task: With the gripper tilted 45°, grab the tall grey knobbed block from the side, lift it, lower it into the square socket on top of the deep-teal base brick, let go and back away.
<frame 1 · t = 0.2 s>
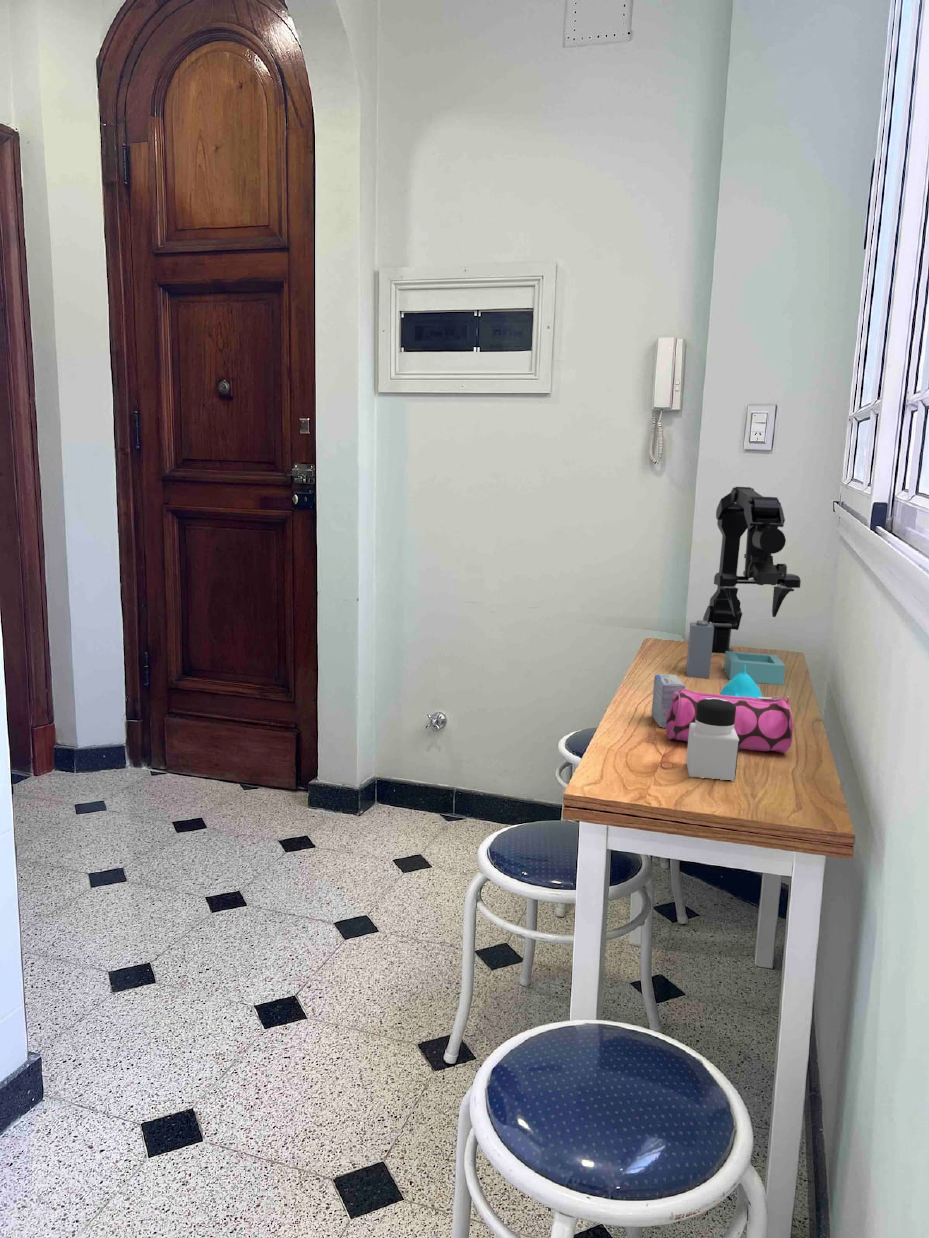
hand: (754, 616, 209), 14 cm above the table, tool pointing down, fingers open, 9 cm apart
medicine box: (665, 723, 170), on the table
grey knobbed block: (697, 675, 209), on the table
pencil case: (725, 746, 158), on the table
medicine bottle: (709, 773, 143), on the table
toy shark: (739, 717, 176), on the table
teal base brick: (752, 676, 210), on the table
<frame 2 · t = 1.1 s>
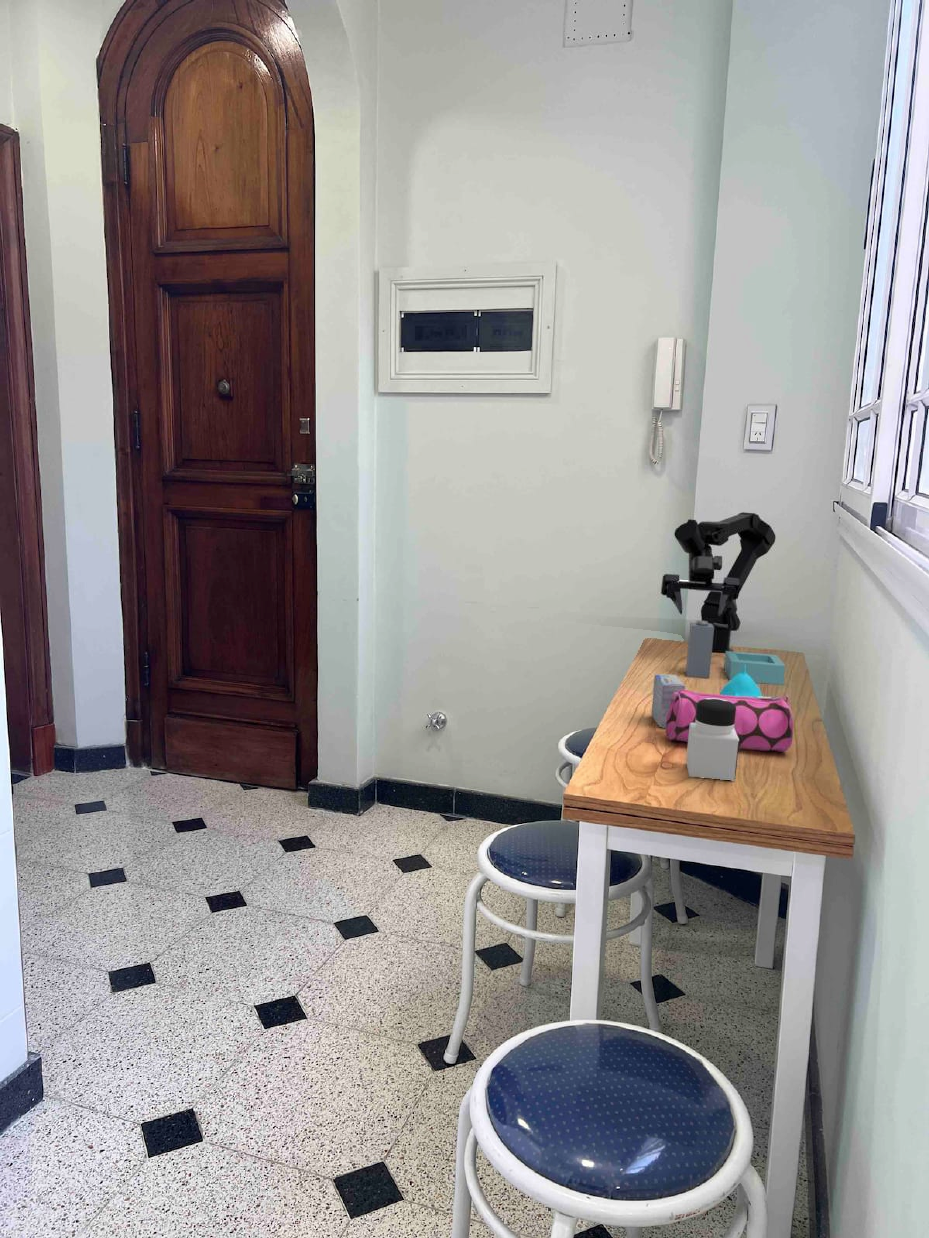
hand: (700, 614, 214), 13 cm above the table, tool tilted 45°, fingers open, 9 cm apart
nothing on the table moved.
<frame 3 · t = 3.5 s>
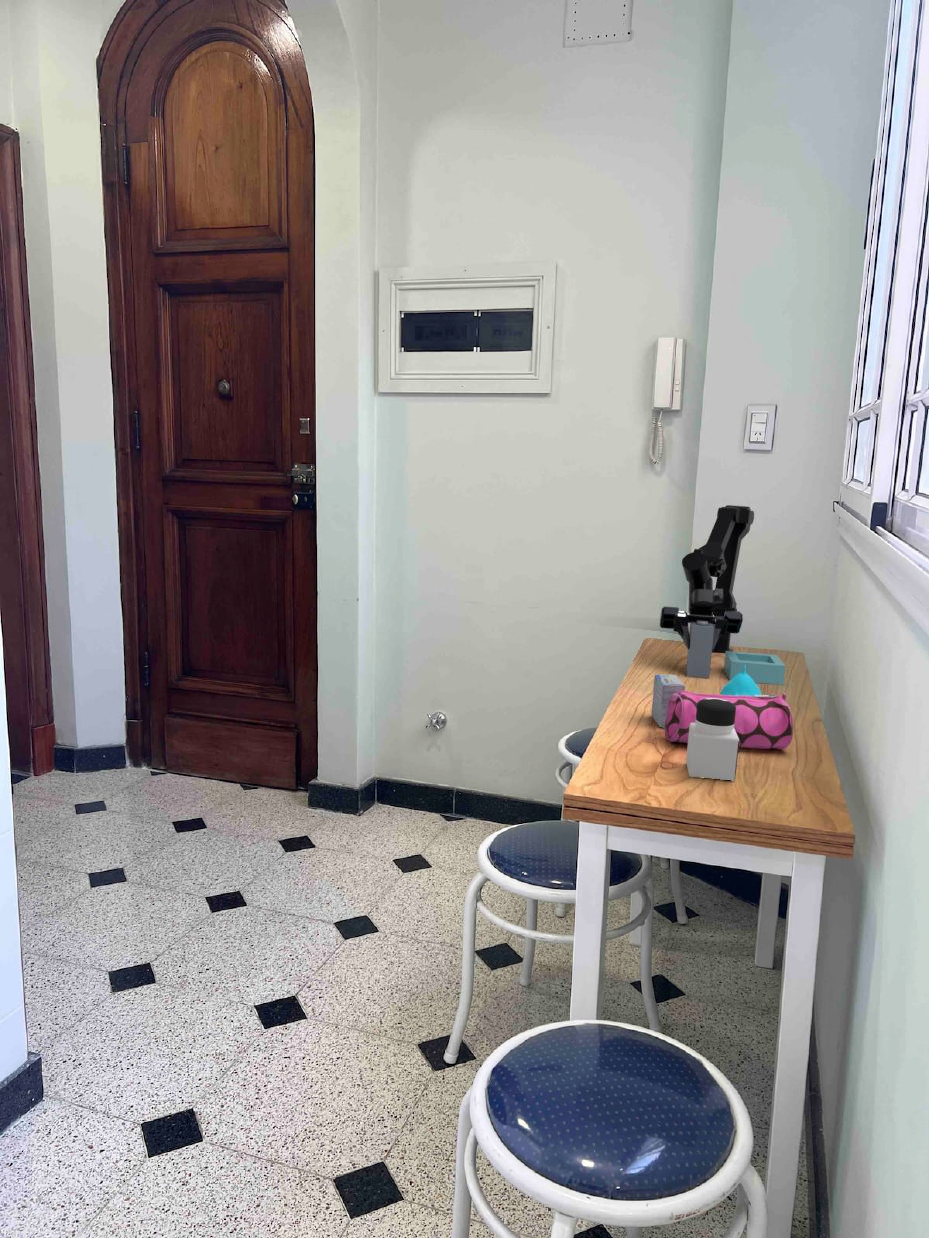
hand: (700, 649, 207), 7 cm above the table, tool tilted 45°, fingers closed on grey knobbed block, 5 cm apart
grey knobbed block: (697, 675, 209), on the table, touching gripper
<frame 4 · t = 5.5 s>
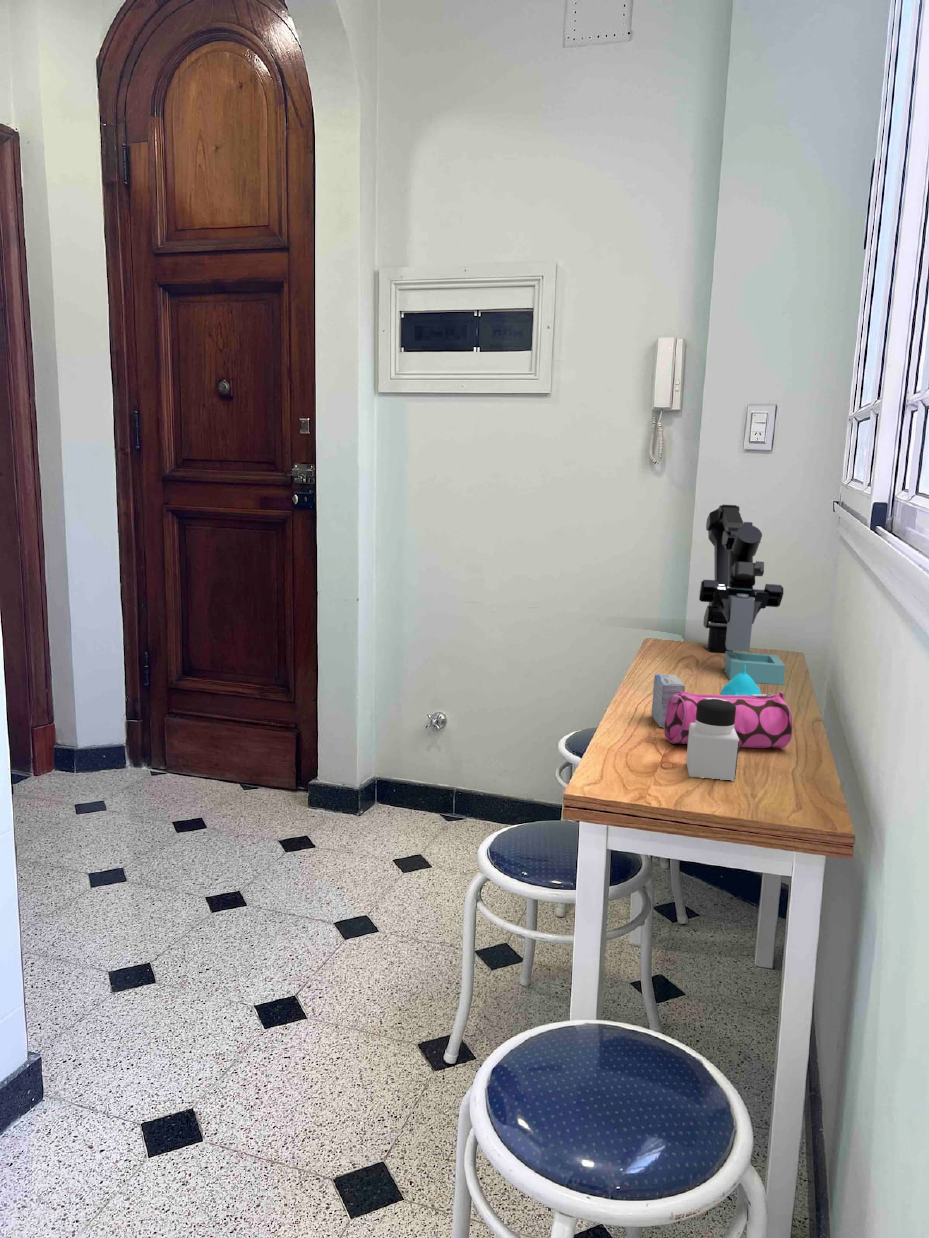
hand: (740, 622, 206), 13 cm above the table, tool tilted 45°, fingers closed on grey knobbed block, 5 cm apart
grey knobbed block: (737, 648, 209), point 7 cm above the table, touching gripper
when the fingers open (10 cm above the table, at t = 7.6 s): grey knobbed block stays where it is, resting on teal base brick.
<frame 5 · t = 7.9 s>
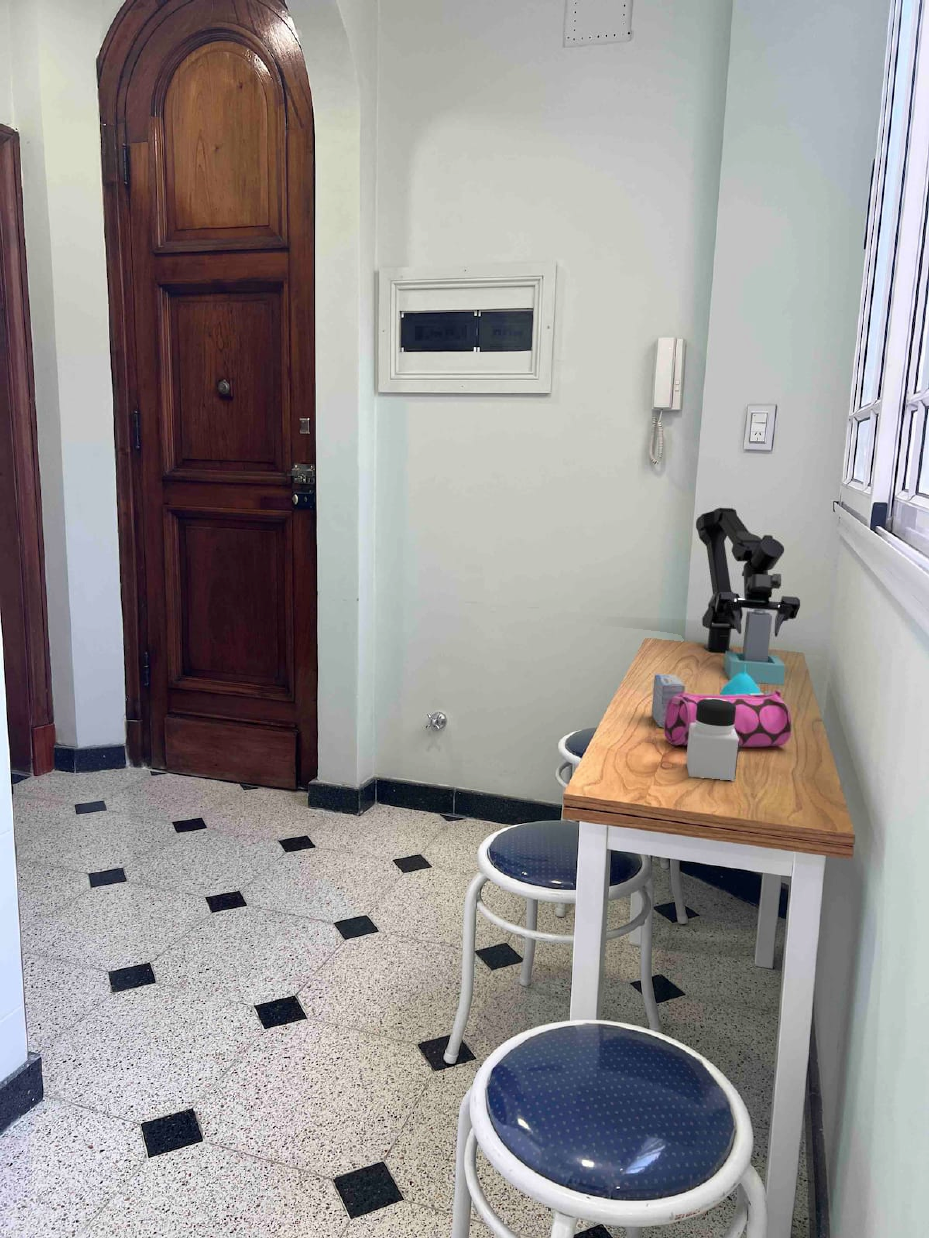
hand: (758, 634, 207), 11 cm above the table, tool tilted 45°, fingers open, 8 cm apart
grey knobbed block: (753, 664, 210), point 3 cm above the table, touching teal base brick
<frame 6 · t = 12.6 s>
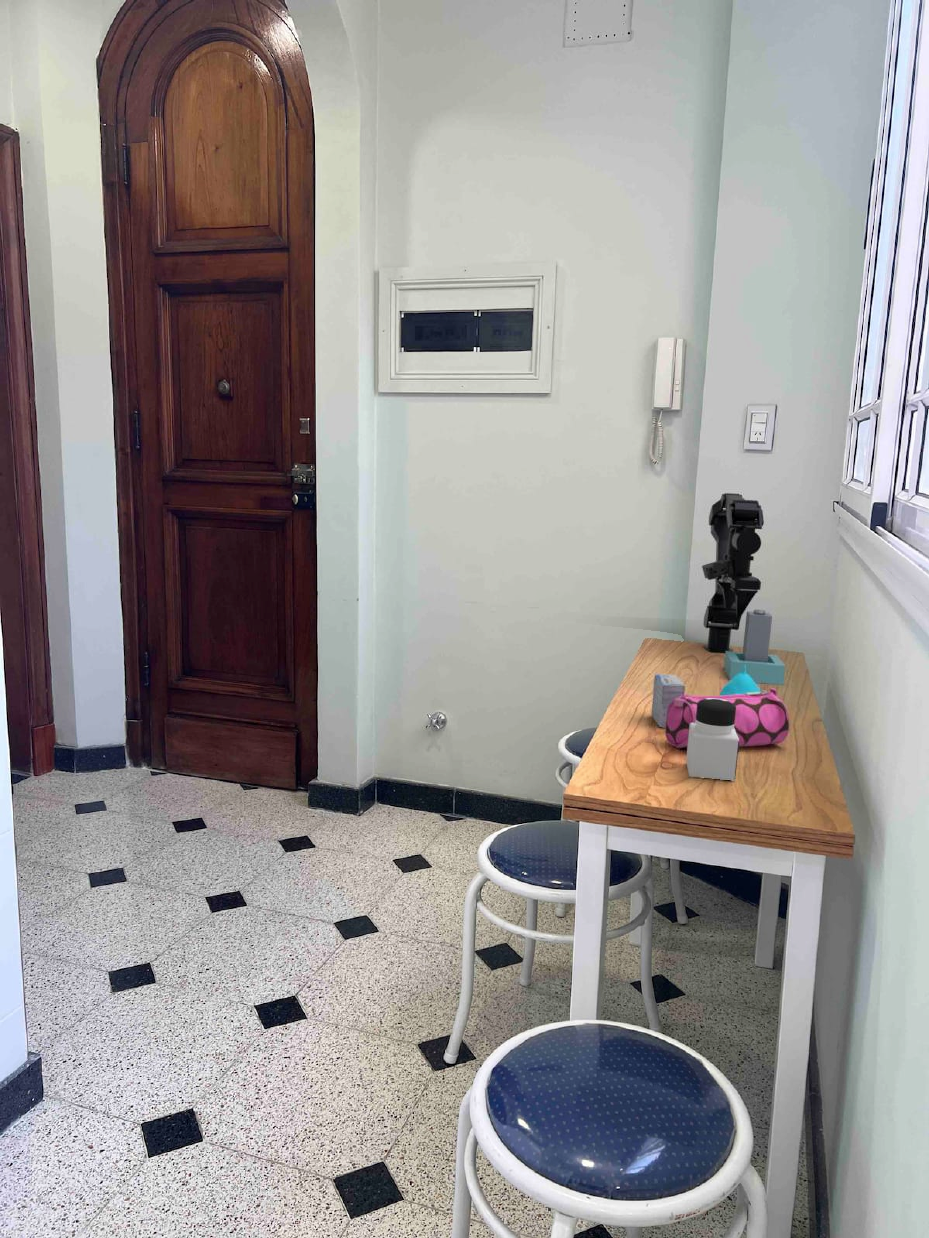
hand: (733, 613, 221), 13 cm above the table, tool pointing down, fingers open, 9 cm apart
at the end: grey knobbed block 0.0 cm off-centre on the teal base brick, point 3.0 cm above the teal base brick's base; grey knobbed block tilted 0°; the gripper is holding nothing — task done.
